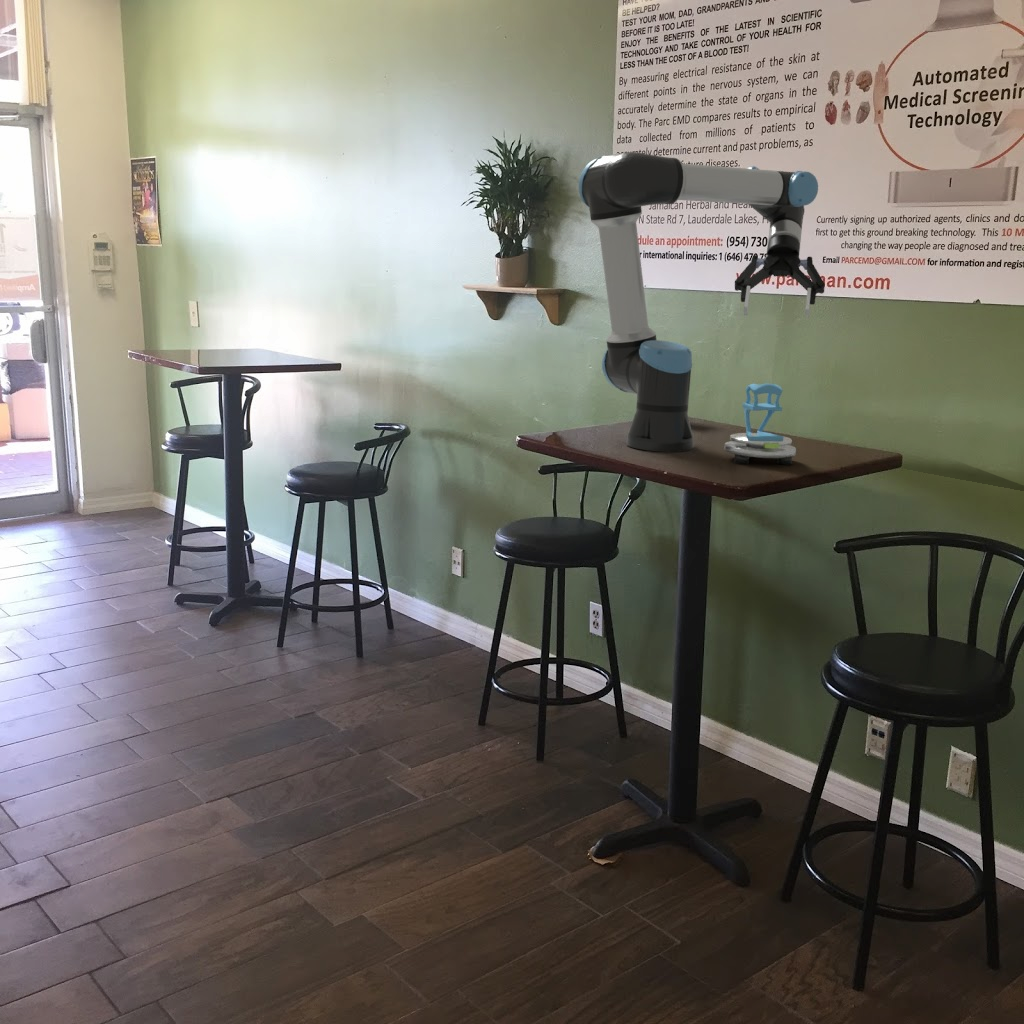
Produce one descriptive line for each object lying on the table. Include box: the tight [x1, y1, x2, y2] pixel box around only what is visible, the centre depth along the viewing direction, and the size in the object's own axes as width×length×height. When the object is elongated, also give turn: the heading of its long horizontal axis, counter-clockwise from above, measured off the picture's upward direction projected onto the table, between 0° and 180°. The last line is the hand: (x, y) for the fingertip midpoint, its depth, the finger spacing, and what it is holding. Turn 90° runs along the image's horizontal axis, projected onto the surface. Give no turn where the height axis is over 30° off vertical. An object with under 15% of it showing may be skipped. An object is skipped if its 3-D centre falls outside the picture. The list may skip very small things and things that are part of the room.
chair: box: [742, 382, 784, 441], centre depth 227 cm, size 8×8×12 cm
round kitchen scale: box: [724, 432, 797, 466], centre depth 229 cm, size 15×15×5 cm
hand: (776, 312), depth 243 cm, fingers open, 13 cm apart
